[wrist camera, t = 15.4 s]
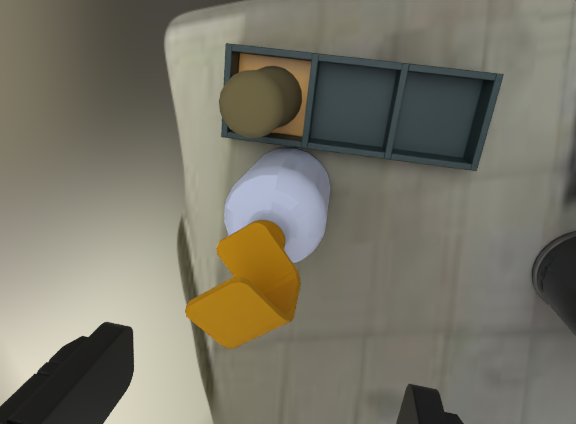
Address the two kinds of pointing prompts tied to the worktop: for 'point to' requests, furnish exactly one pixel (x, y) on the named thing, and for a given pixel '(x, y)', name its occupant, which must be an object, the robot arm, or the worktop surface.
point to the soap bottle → (265, 246)
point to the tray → (378, 106)
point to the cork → (260, 101)
